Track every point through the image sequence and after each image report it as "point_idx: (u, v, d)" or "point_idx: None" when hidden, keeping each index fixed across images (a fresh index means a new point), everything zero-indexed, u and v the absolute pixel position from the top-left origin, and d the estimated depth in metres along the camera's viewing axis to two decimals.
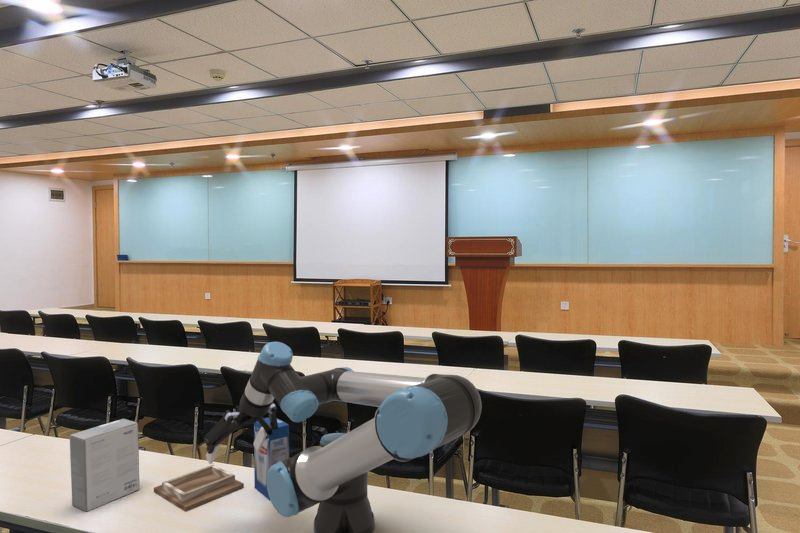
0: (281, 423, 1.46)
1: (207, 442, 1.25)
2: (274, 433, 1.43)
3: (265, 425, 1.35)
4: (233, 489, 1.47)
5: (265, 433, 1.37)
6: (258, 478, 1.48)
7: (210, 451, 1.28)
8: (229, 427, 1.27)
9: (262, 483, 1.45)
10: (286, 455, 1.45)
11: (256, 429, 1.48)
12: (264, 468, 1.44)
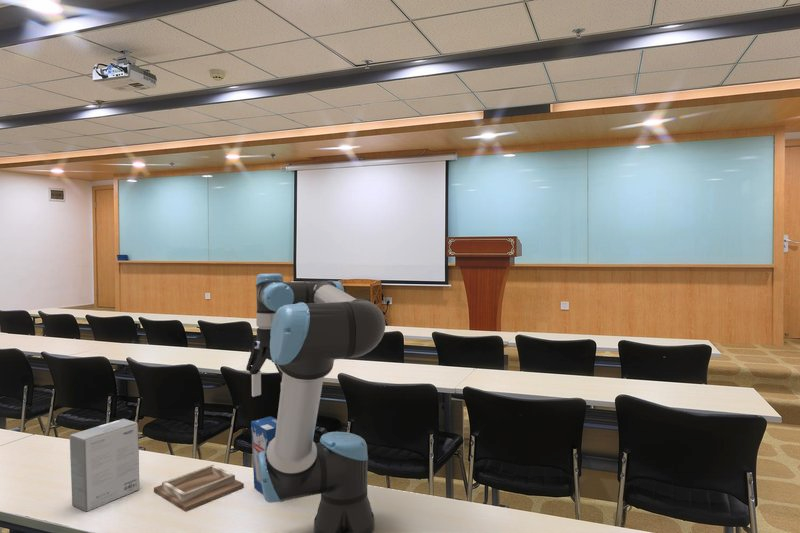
0: None
1: None
2: (272, 434, 1.42)
3: (278, 367, 1.42)
4: (233, 489, 1.47)
5: None
6: (257, 478, 1.47)
7: (252, 381, 1.51)
8: None
9: None
10: None
11: (254, 430, 1.47)
12: None
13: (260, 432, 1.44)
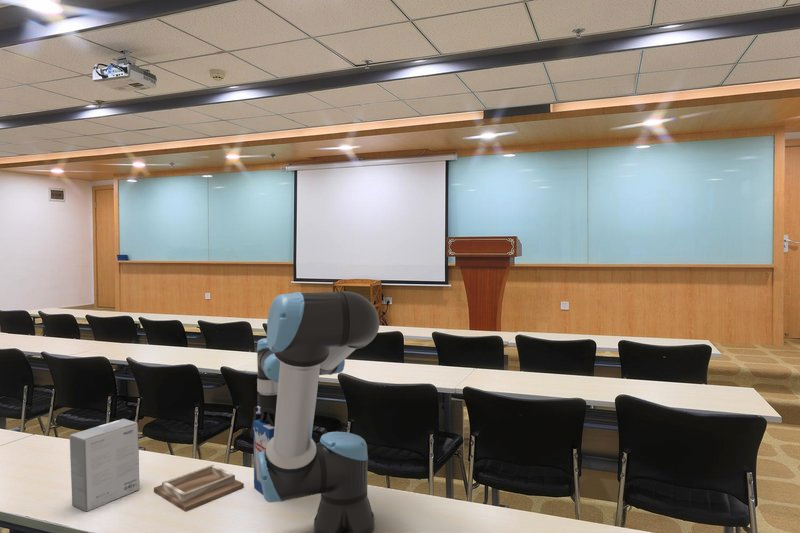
0: None
1: None
2: None
3: None
4: (233, 489, 1.47)
5: None
6: (257, 478, 1.47)
7: None
8: None
9: None
10: None
11: (256, 429, 1.47)
12: None
13: (262, 431, 1.44)
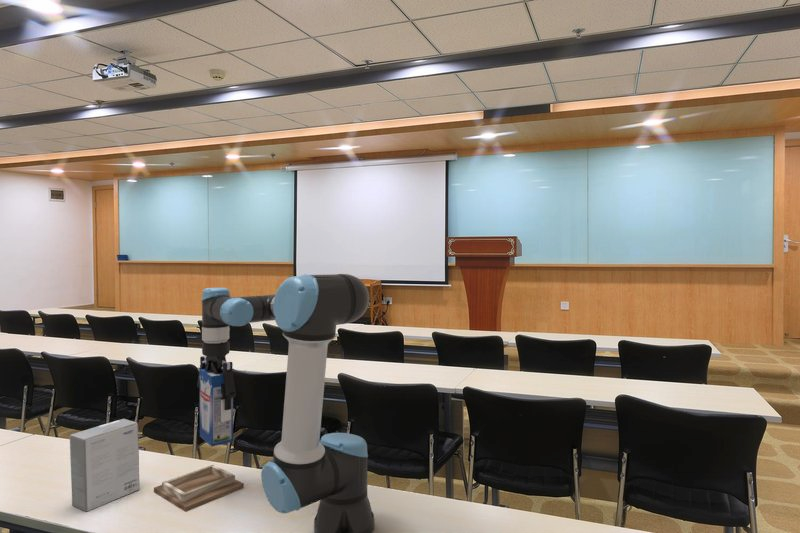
0: None
1: None
2: (217, 381, 1.43)
3: None
4: (233, 489, 1.47)
5: None
6: (202, 426, 1.48)
7: None
8: None
9: (206, 430, 1.46)
10: None
11: (202, 378, 1.48)
12: (207, 415, 1.45)
13: (206, 379, 1.45)
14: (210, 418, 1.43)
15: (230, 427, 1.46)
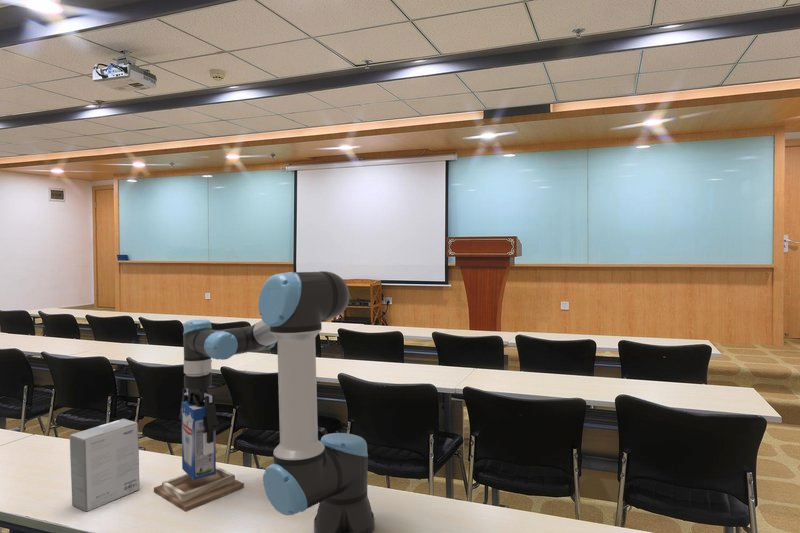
0: None
1: None
2: (199, 414, 1.43)
3: None
4: (233, 489, 1.47)
5: None
6: (185, 459, 1.48)
7: None
8: None
9: (188, 463, 1.46)
10: None
11: (184, 410, 1.48)
12: (190, 448, 1.45)
13: (188, 412, 1.45)
14: (192, 451, 1.43)
15: (212, 460, 1.46)
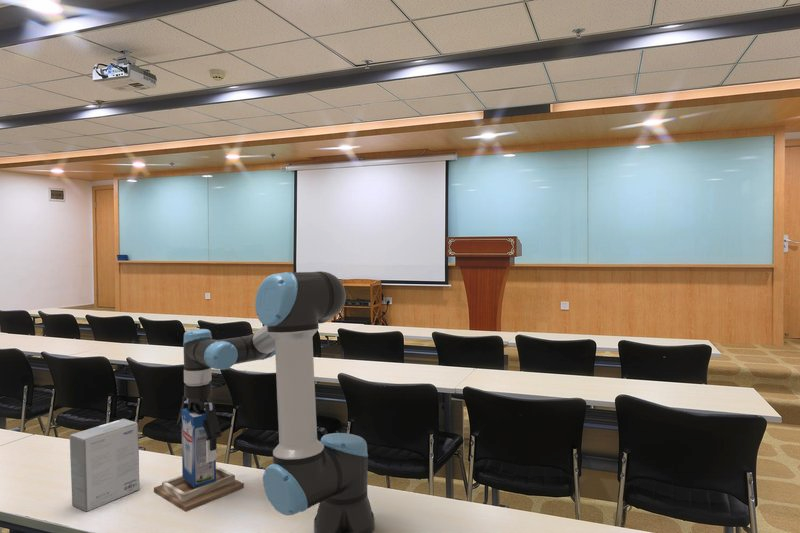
0: None
1: None
2: (199, 421, 1.43)
3: (204, 424, 1.44)
4: (233, 489, 1.47)
5: None
6: (185, 466, 1.48)
7: None
8: None
9: (189, 471, 1.46)
10: None
11: (184, 417, 1.48)
12: (190, 456, 1.45)
13: (188, 419, 1.45)
14: (192, 459, 1.43)
15: (213, 467, 1.46)
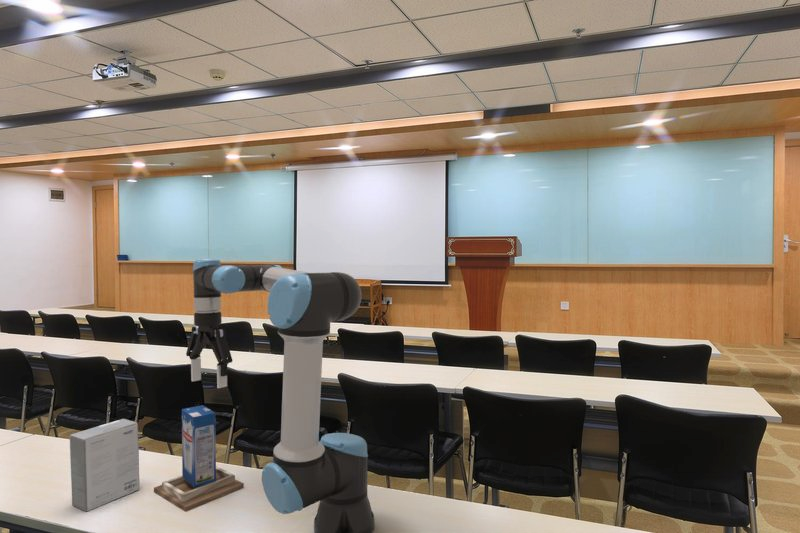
0: (208, 411, 1.47)
1: None
2: (199, 421, 1.43)
3: (215, 351, 1.44)
4: (233, 489, 1.47)
5: None
6: (185, 466, 1.48)
7: None
8: None
9: (189, 471, 1.46)
10: (212, 443, 1.46)
11: (184, 417, 1.48)
12: (190, 456, 1.45)
13: (188, 419, 1.45)
14: (192, 459, 1.43)
15: (213, 467, 1.46)
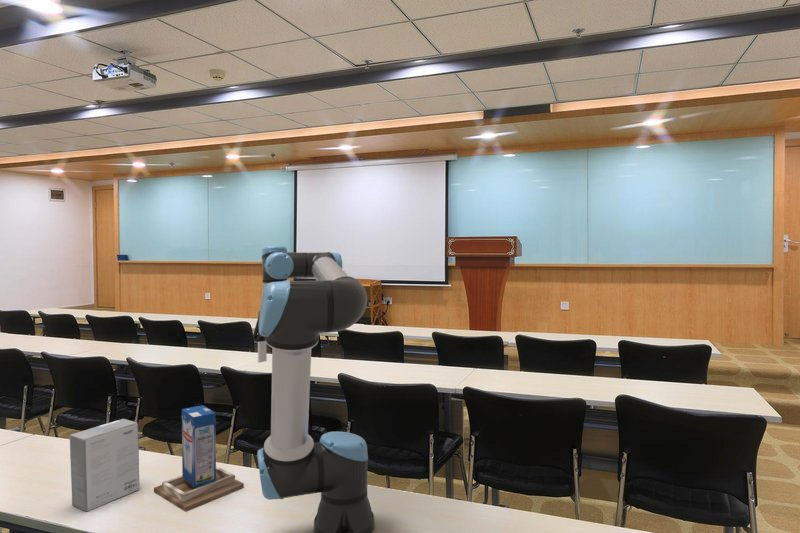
0: (208, 411, 1.47)
1: None
2: (199, 421, 1.43)
3: None
4: (233, 489, 1.47)
5: None
6: (185, 466, 1.48)
7: (258, 348, 1.61)
8: None
9: (189, 471, 1.46)
10: (212, 443, 1.46)
11: (184, 417, 1.48)
12: (190, 456, 1.45)
13: (188, 419, 1.45)
14: (192, 459, 1.43)
15: (213, 467, 1.46)
